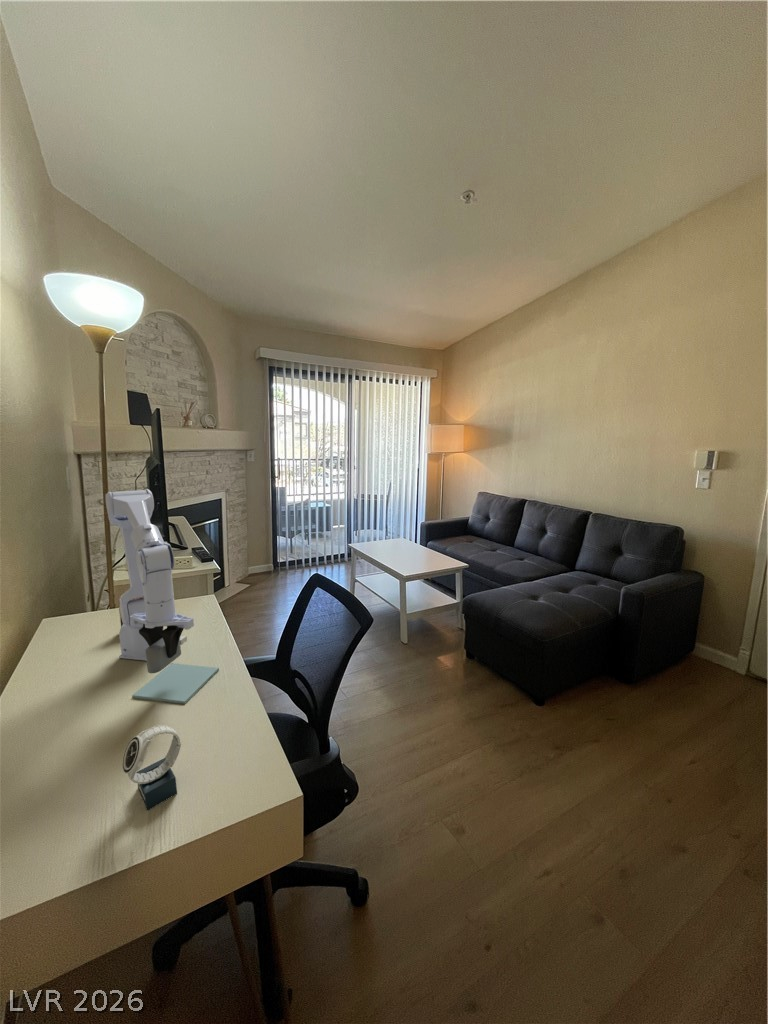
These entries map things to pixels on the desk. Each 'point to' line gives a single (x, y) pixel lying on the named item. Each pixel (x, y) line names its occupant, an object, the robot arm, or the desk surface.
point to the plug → (161, 655)
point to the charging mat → (176, 683)
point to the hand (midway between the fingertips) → (165, 654)
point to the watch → (152, 766)
